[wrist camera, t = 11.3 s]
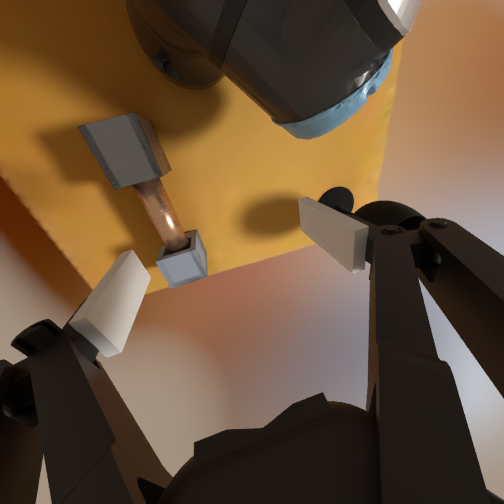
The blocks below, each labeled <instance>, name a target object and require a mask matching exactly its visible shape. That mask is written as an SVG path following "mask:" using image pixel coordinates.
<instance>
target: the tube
mask: <svg viewBox="0 0 504 504" xmlns="http://www.w3.org/2000/svg"><path fill="white" fill-rule="evenodd" d="M132 186H133V188H134V190H135V192H136V194H137V196H138V197H139V199H140V201H141V203H142V205H143V207H144V209H145V210H146V212H147V214H148V216H149V218H150V220H151V222H152V224H153V225H154V227H155V229H156V231H157V233H158V235H159V237H160V238H161V240H162V242H163V244H164V246H165V248H166V250H167V252H168V253H169V255H170V254H173V253H176V252H180V251H183V250H186V249H189V248H191V246H190V244H189V242H188V239H187V237H186V235H185V233H184V231H183V228H182V226H181V224H180V222H179V220H178V217H177V215H176V213H175V211H174V209H173V206H172V204H171V202H170V200H169V198H168V195H167V193H166V191H165V189H164V187H163V184H162V182H161V180H160V178H155V179H151V180H148V181H144V182H140V183H137V184H133V185H132Z"/></svg>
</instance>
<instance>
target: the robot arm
mask: <svg viewBox="0 0 504 504" xmlns="http://www.w3.org/2000/svg"><path fill="white" fill-rule="evenodd" d="M421 1H422V0H126V5H127V10H128V14H129V17H130V21H131V24H132V27H133V30H134V32H135V35H136V37H137V39H138V41H139V43H140V45H141V46H142V48H143V50H144V51H145V53H146V55H147V56H148V58H149V59H150V61H151V62H152V63H153V65H154V66H155V67H156V68H157V69H158V70H159V71H160V72H161V73H162V74H163V75H164V76H165V77H166V78H168V79H169V80H170V81H172V82H174V83H175V84H177V85H179V86H182V87H185V88H188V89H205V88H208V87H211V86H213V85H215V84H216V83H218V82H219V81H220V80H221V79H222V78H223V77H224V76H226V77H227V78H229V79H230V80H231V81H232V82H233V83H234V84H235V85H236V86H237V87H238V88H240V89H241V90H242V91H243V92H244V93H245V94H246V95H247V96H248V97H249V98H251V99H252V100H253V101H254V102H255V103H256V104H257V105H258V106H259V107H260V108H262V109H263V110H264V111H265V112H266V113H267V114H268V115H269V116H270V117H271V118H272V121H273V122H274V123H275V124H277V125H279V126H281V127H283V128H284V129H285V130H287V131H288V132H289V133H290V134H291V135H293V136H294V137H296V138H299V139H313V138H317V137H319V136H322V135H324V134H326V133H328V132H330V131H332V130H333V129H335V128H336V127H338V126H339V125H341V124H342V123H344V122H345V121H346V120H348V119H349V118H350V117H351V116H353V115H354V114H355V113H356V112H357V111H358V110H359V109H360V108H361V107H362V106H363V105H364V104H365V103H366V102H367V97H368V96H370V95H371V94H373V93H375V92H376V91H377V90H378V88H379V87H380V86H381V84H382V83H383V81H384V80H385V78H386V76H387V74H388V72H389V70H390V68H391V64H392V54H393V47H394V46H395V45H396V44H397V43H398V42H399V41H400V40H401V39H402V38H403V37H404V36H405V35H406V34H407V33H408V32H409V31H410V30H411V29H412V26H413V23H414V20H415V18H416V15H417V12H418V9H419V6H420V3H421ZM298 203H299V213H300V223H301V231H303V232H304V233H305V234H306V235H307V236H309V237H310V238H311V239H312V240H313V241H314V242H316V243H317V244H318V245H319V246H320V247H322V248H323V249H324V250H325V251H326V252H327V253H329V254H330V255H331V256H332V257H334V258H335V259H336V260H337V261H338V262H339V263H340V264H342V265H343V266H344V267H345V268H346V269H348V270H349V271H350V272H351V273H356V272H358V271H361V270H364V269H365V261H367V262H368V263H370V264H371V268H370V275H369V280H370V301H369V349H368V350H369V351H368V390H367V403H366V411H365V410H363V409H361V408H359V407H356V406H353V405H351V404H347V403H343V402H335V401H327V400H326V398H325V396H324V393H319V394H317V395H314V396H312V397H309V398H307V399H304V400H301V401H299V402H296V403H294V404H292V405H291V406H290V407H288V408H287V409H286V410H285V411H283V412H282V413H281V414H280V415H278V416H277V417H276V418H275V419H274V420H272V422H270V423H269V424H268V425H266V426H265V427H263V428H255V429H231V430H225V431H222V432H220V433H217V434H215V435H212V436H210V437H207V438H204V439H202V440H200V441H197V442H194V456H193V457H191V458H190V459H189V460H188V461H187V462H186V463H185V464H184V465H183V466H182V467H181V469H180V470H179V471H178V472H177V474H176V475H175V476H174V477H172V476H171V475H170V474H169V473H168V472H167V470H166V469H165V468H164V467H163V465H162V464H161V462H160V460H159V459H158V457H157V455H156V454H155V452H154V451H153V449H152V447H151V445H150V444H149V442H148V441H147V439H146V437H145V436H144V434H143V432H142V431H141V429H140V427H139V426H138V424H137V423H136V421H135V419H134V417H133V416H132V414H131V413H130V411H129V409H128V408H127V406H126V404H125V403H124V401H123V399H122V398H121V396H120V394H119V393H118V391H117V390H116V388H115V386H114V385H113V383H112V381H111V380H110V378H109V376H108V375H107V373H106V372H105V370H104V368H103V366H102V365H101V363H100V362H99V361H98V360H97V359H96V356H97V354H98V352H99V351H100V352H101V353H102V354H103V355H104V356H105V357H106V358H107V357H110V356H113V355H116V354H119V353H121V352H122V350H123V347H124V345H125V342H126V340H127V337H128V335H129V332H130V330H131V326H132V324H133V322H134V319H135V317H136V314H137V312H138V309H139V307H140V304H141V302H142V299H143V296H144V294H145V291H146V289H147V286H148V284H149V281H150V279H151V277H150V276H149V274H148V272H147V271H146V269H145V268H144V266H143V265H142V263H141V262H140V260H139V258H138V257H137V255H136V254H135V252H134V251H133V249H132V250H128V251H125V252H122V253H121V255H120V256H119V257H118V259H117V260H116V261H115V262H114V264H113V265H112V266H111V268H110V269H109V270H108V272H107V273H106V274H105V276H104V277H103V278H102V280H101V281H100V282H99V284H98V285H97V286H96V287H95V289H94V290H93V291H92V293H91V294H90V296H89V297H88V298H86V299H85V300H84V301H83V302H82V304H81V305H80V306H79V309H77V310H76V311H75V313H74V315H72V317H71V318H70V319H69V321H68V322H67V323H66V324H65V326H64V327H63V329H61V328H59V327H58V326H57V325H56V324H55V323H54V322H52V321H51V320H50V319H45V320H42V321H39V322H37V323H35V324H33V325H31V326H29V327H28V328H26V329H25V330H24V331H22V332H21V333H20V334H19V335H17V336H16V337H15V339H14V340H13V341H12V343H11V346H13V347H14V348H16V349H17V350H19V351H20V352H22V353H23V354H25V355H26V356H28V358H26V359H24V360H22V361H20V362H18V363H16V364H14V365H13V364H11V363H9V362H8V361H6V360H4V359H3V360H0V504H35V503H36V497H37V491H38V484H39V478H40V472H41V466H42V459H43V454H44V459H45V464H46V471H47V477H48V483H49V488H50V495H51V501H52V504H504V500H503V499H501V498H499V497H498V496H497V495H495V494H493V493H492V492H490V491H489V490H487V489H486V486H485V483H484V480H483V476H482V473H481V469H480V466H479V462H478V459H477V455H476V452H475V448H474V445H473V442H472V438H471V435H470V431H469V428H468V424H467V421H466V418H465V414H464V411H463V407H462V404H461V400H460V397H459V394H458V390H457V386H456V383H455V380H454V376H453V373H452V371H451V368H450V366H449V365H448V364H447V362H446V361H441V360H440V359H439V358H438V355H437V351H436V347H435V343H434V339H433V336H432V332H431V328H430V324H429V320H428V316H427V312H426V308H425V304H424V300H423V296H422V292H421V288H420V284H419V280H418V278H419V279H420V280H421V282H422V283H423V285H424V286H425V288H426V289H427V290H428V292H429V293H430V295H431V296H432V297H433V299H434V300H435V301H436V303H437V305H438V306H439V307H440V309H441V310H442V312H443V313H444V314H445V316H446V317H447V319H448V320H449V321H450V323H451V324H452V326H453V327H454V329H455V330H456V331H457V333H458V334H459V336H460V337H461V339H462V340H463V341H464V343H465V344H466V346H467V347H468V348H469V350H470V351H471V353H472V354H473V356H474V357H475V358H476V360H477V361H478V363H479V364H480V365H481V367H482V368H483V370H484V371H485V373H486V374H487V375H488V377H489V378H490V380H491V381H492V382H493V384H494V385H495V387H496V388H497V390H498V391H499V392H500V394H501V395H502V397H503V398H504V256H503V255H501V254H500V253H499V252H497V251H496V250H494V249H493V248H491V247H490V246H488V245H487V244H486V243H484V242H483V241H481V240H480V239H478V238H477V237H475V236H474V235H473V234H471V233H470V232H468V231H467V230H465V229H464V228H463V227H461V226H460V225H458V224H457V223H455V222H453V221H451V220H447V219H443V218H441V219H440V218H434V219H433V218H432V219H426V220H423V221H422V222H421V223H420V227H419V229H416V230H409V231H406V230H405V229H404V228H402V227H400V226H396V225H383V226H377V225H374V224H372V223H370V222H368V221H364V220H363V219H361V218H359V217H357V216H354V215H350V214H342V213H340V212H338V211H336V210H334V209H332V208H330V207H327V206H325V205H323V204H321V203H319V202H317V201H315V200H313V199H311V198H309V197H305V198H301V199H298Z"/></svg>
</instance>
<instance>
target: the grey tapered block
mask: <svg viewBox="0 0 504 504" xmlns="http://www.w3.org/2000/svg"><path fill="white" fill-rule="evenodd" d="M77 127H78V128H79V130H80V132H81V133H82V135H83V137H84V138H85V140H86V142H87V144H88V145H89V147H90V149H91V150H92V152H93V154H94V155H95V157H96V159H97V161H98V162H99V164H100V166H101V167H102V169H103V171H104V172H105V174H106V176H107V178H108V179H109V181H110V183H111V184H112V186H113V188H114V189H119V188H122V187H126V186H129V185H133V184H137V183H140V182H144V181H148V180H151V179H155V178H159V177H162V176H164V175H165V174H167V173H168V172H169V171H171V167H170V165H169V163H168V160H167V158H166V155H165V153H164V150H163V148H162V146H161V143H160V141H159V138H158V136H157V134H156V131H155V129H154V126H153V124H152V122H151V121H150V120H148V119H146V118H144V117H142V116H140V115H138V114H136V113H130V114H126V115H122V116H118V117H114V118H110V119H106V120H102V121H97V122H93V123H89V124H85V125H81V126H77Z"/></svg>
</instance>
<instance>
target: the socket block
mask: <svg viewBox="0 0 504 504" xmlns="http://www.w3.org/2000/svg"><path fill="white" fill-rule="evenodd" d="M185 235H186V237H187V239H188V242H189V244H190V246H191V248H189V249H186V250H183V251H180V252H176V253H173V254H170V255H169V253H168V252H167V250H166V248H165V246H164V244H163V245H162V247H161V250H160V252H159V255H158V257H157V259H156V264H157V266H158V267H159V269H160V271H161V272H162V274H163V276H164V277H165V279H166V281H167V282H168V284H169V286H170V287H171V288H174V287H177V286H180V285H183V284H187V283H190V282H193V281H196V280H199V279H202V278H205V277H207V253H206V251H205V248H204V246H203V243H202V241H201V239H200V236H199V234H198V231H197V230H194V231H190V232H187V233H185Z"/></svg>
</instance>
